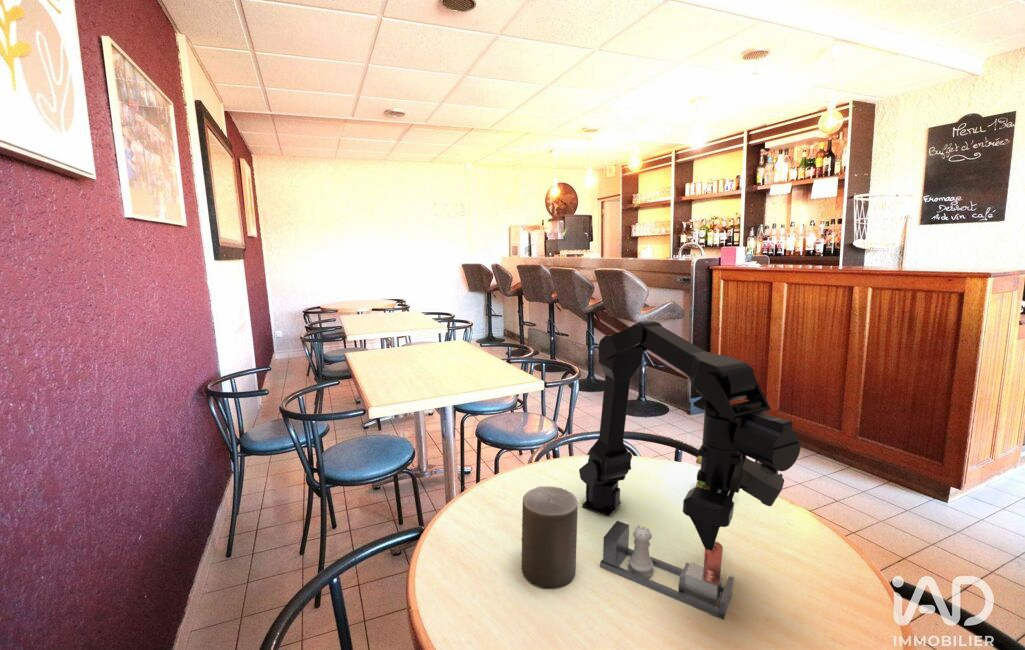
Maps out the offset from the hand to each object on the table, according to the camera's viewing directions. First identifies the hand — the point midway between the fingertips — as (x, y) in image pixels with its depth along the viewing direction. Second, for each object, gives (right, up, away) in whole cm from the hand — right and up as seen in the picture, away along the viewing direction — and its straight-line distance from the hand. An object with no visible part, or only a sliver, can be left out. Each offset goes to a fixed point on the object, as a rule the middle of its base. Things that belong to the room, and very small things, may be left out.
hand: (715, 533), depth 75 cm
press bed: (-6, -11, +6) cm, 14 cm away
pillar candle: (-26, -11, +9) cm, 29 cm away
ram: (-1, -11, +3) cm, 12 cm away
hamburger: (+13, -6, +33) cm, 36 cm away
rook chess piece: (-10, -11, +9) cm, 17 cm away
